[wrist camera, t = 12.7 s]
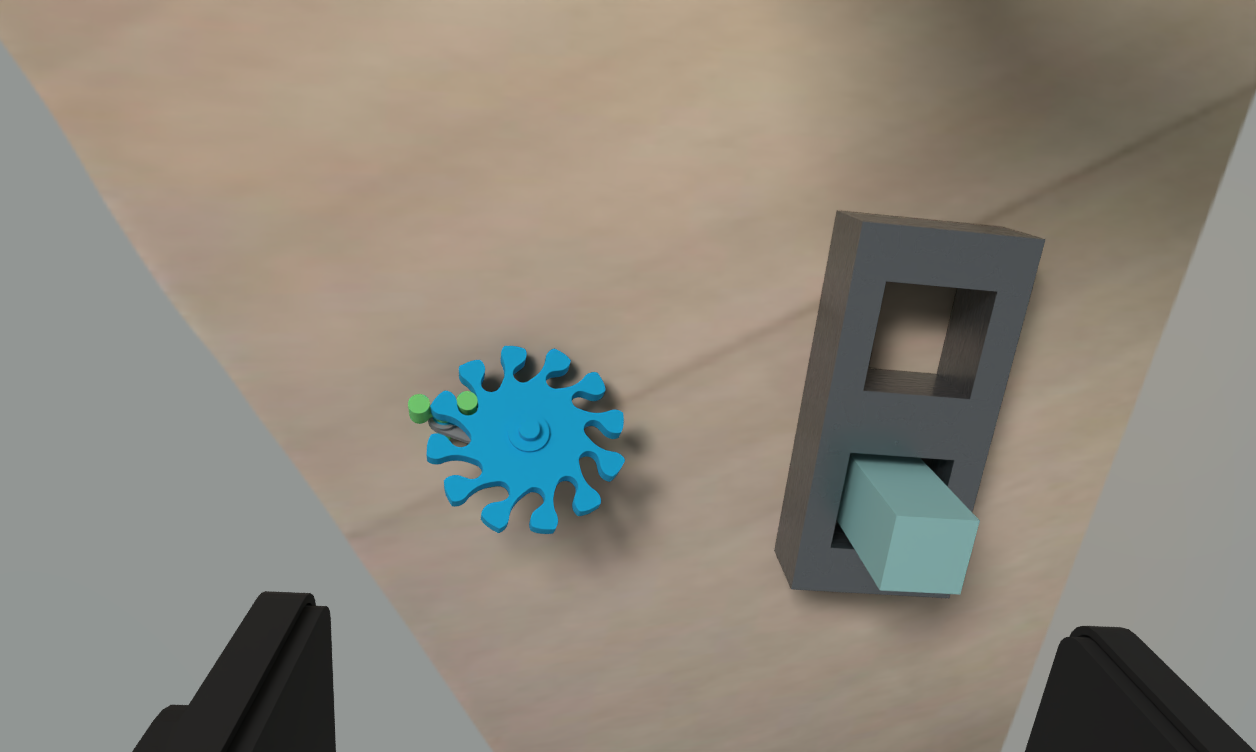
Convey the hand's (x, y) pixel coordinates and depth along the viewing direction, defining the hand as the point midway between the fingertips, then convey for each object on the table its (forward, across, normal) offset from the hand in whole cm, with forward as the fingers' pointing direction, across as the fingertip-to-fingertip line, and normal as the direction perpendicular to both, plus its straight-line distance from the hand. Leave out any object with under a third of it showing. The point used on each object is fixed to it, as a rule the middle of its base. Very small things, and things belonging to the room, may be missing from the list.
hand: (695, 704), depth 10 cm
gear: (+33, +4, +9) cm, 35 cm away
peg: (+33, -16, +12) cm, 38 cm away
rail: (+33, -16, +8) cm, 37 cm away
